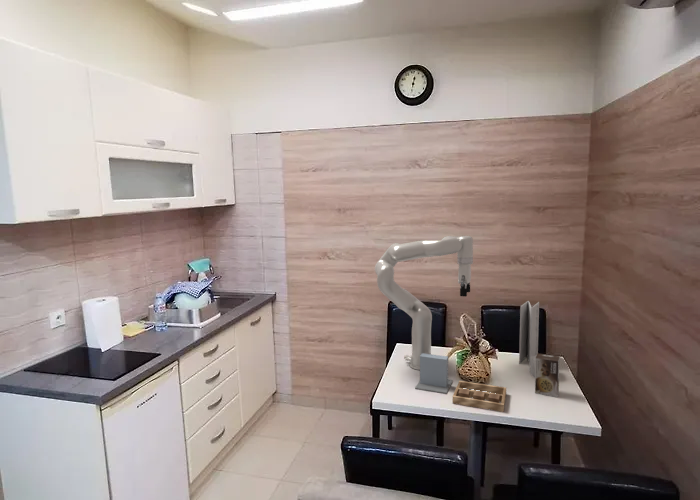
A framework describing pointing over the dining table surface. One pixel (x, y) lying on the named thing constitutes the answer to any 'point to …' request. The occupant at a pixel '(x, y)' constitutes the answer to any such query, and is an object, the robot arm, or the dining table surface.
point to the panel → (434, 370)
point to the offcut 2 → (479, 395)
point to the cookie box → (547, 375)
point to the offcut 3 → (494, 398)
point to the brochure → (528, 331)
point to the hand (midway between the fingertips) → (465, 294)
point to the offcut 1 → (464, 393)
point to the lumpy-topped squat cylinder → (533, 365)
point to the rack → (480, 403)
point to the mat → (434, 387)
